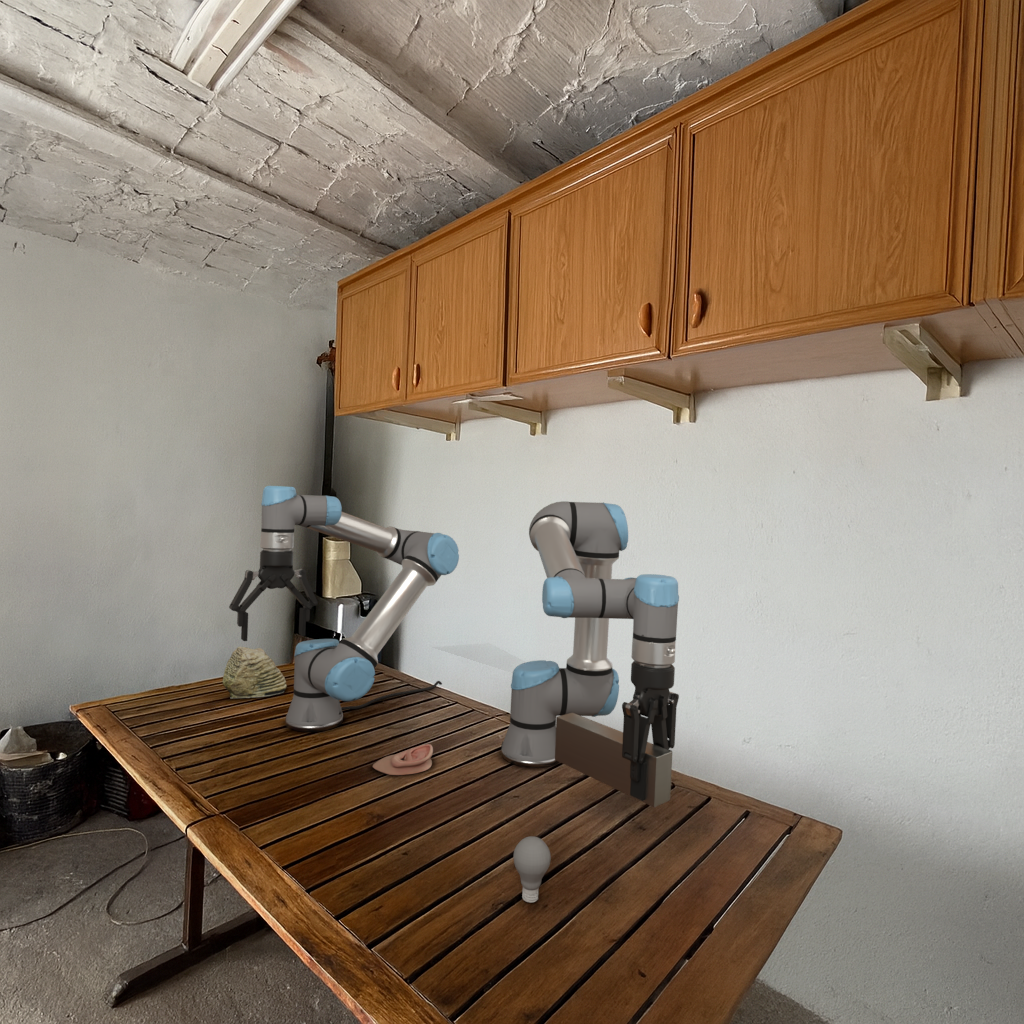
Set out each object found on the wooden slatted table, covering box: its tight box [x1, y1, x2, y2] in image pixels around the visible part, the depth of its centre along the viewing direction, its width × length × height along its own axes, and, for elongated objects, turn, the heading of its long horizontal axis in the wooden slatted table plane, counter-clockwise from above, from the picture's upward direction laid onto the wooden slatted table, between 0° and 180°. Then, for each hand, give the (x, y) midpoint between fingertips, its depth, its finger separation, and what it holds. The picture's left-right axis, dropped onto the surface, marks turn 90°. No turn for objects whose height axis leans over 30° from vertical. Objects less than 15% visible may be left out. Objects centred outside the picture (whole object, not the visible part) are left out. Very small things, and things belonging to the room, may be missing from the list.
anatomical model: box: [372, 743, 434, 776], centre depth 151 cm, size 13×4×12 cm
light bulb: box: [512, 836, 552, 904], centre depth 102 cm, size 6×6×10 cm
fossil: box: [222, 646, 288, 699], centre depth 198 cm, size 9×18×15 cm, turn 132°
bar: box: [555, 713, 673, 809], centre depth 119 cm, size 24×5×9 cm, turn 41°
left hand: (273, 637), depth 153 cm, fingers open, 13 cm apart
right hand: (647, 793), depth 112 cm, fingers closed on bar, 5 cm apart
